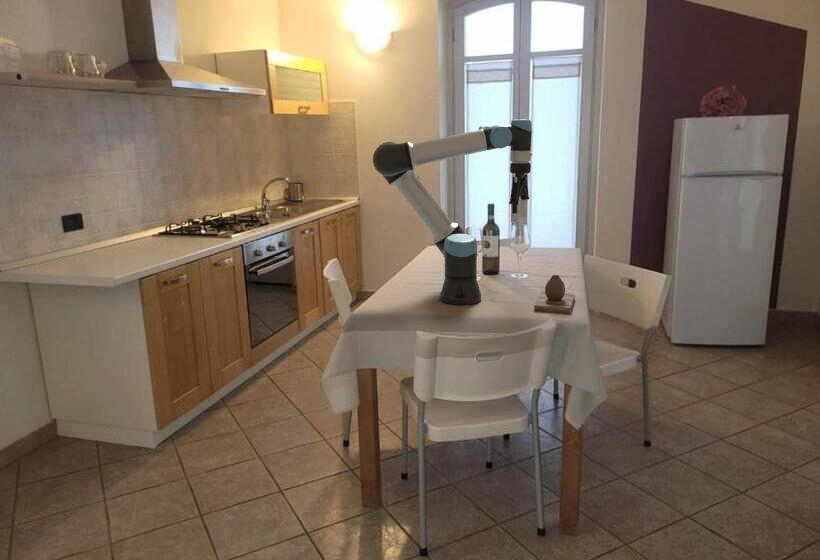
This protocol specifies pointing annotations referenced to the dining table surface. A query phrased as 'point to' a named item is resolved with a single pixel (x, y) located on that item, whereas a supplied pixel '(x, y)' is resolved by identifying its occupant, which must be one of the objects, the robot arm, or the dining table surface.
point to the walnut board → (555, 303)
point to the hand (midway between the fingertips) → (519, 219)
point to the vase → (555, 288)
